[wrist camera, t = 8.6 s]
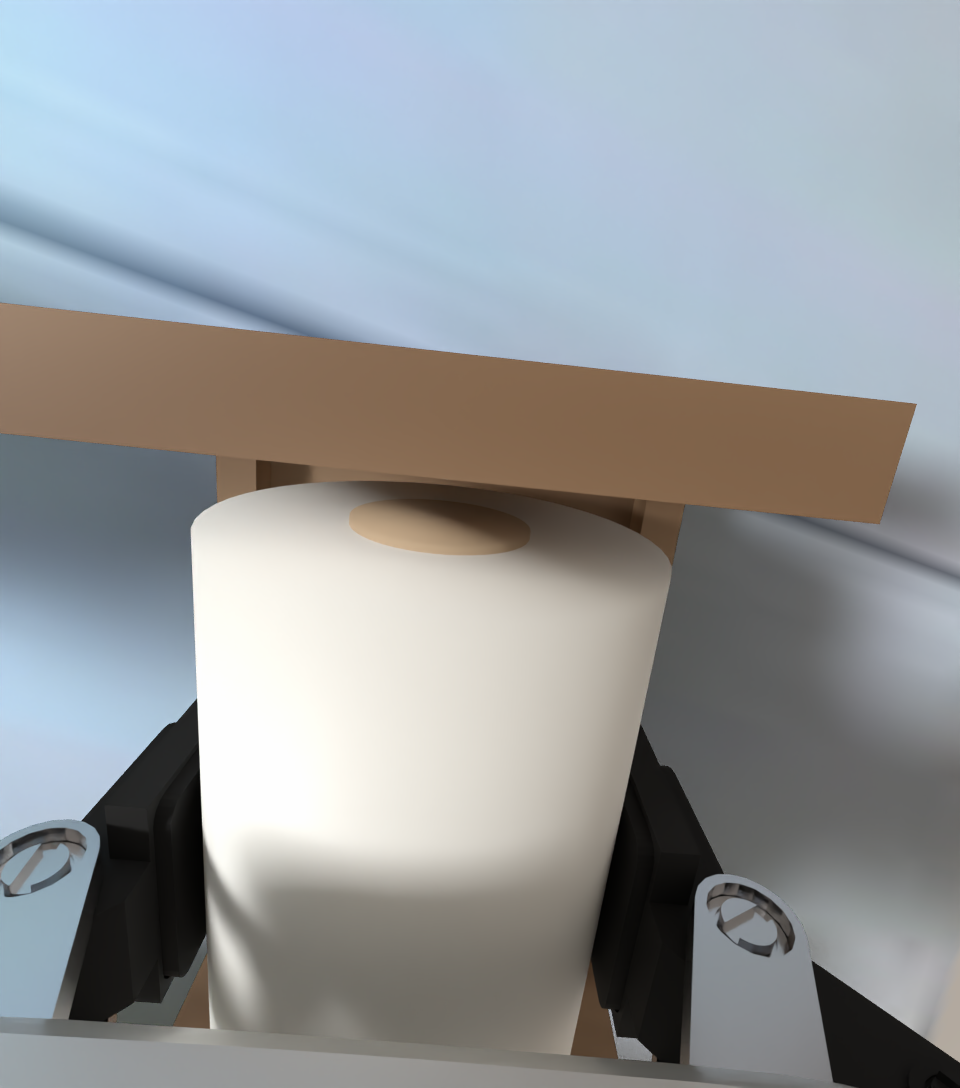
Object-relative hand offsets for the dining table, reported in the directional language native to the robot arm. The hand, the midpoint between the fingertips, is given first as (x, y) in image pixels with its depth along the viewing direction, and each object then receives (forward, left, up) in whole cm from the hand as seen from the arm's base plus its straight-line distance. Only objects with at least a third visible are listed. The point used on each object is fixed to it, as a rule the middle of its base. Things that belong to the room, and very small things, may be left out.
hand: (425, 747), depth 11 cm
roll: (0, 0, -1) cm, 1 cm away
